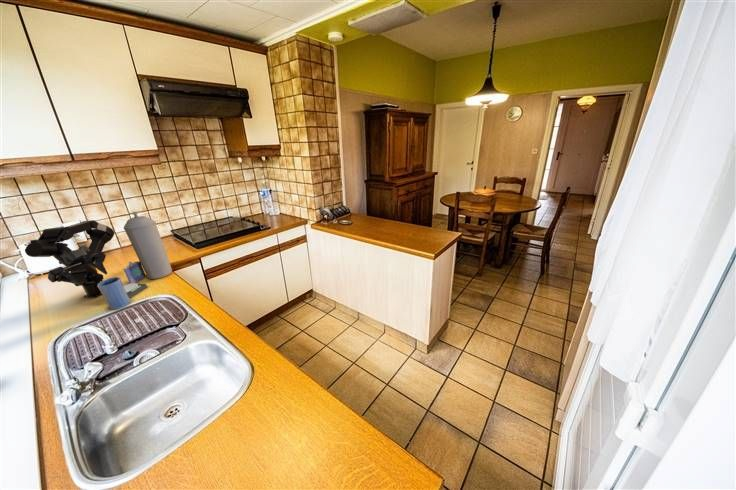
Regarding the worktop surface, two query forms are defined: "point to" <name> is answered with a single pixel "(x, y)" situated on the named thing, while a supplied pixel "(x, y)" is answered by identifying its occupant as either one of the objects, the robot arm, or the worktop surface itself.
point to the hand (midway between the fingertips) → (95, 279)
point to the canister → (148, 246)
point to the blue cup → (114, 293)
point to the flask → (134, 272)
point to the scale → (134, 288)
